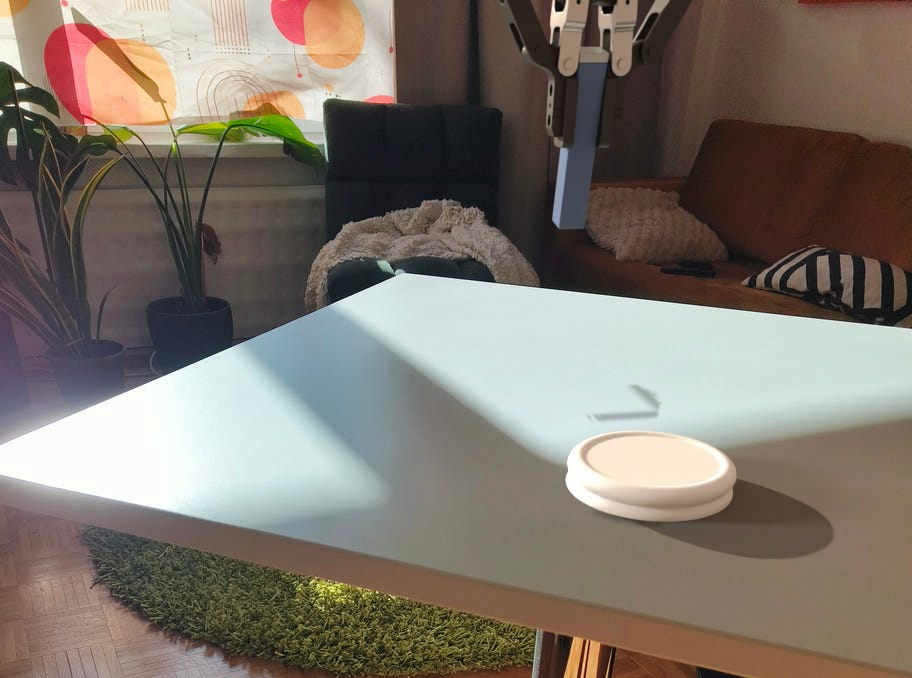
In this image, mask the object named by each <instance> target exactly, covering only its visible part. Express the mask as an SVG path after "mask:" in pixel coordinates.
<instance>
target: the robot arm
mask: <svg viewBox="0 0 912 678" xmlns="http://www.w3.org/2000/svg"><path fill="white" fill-rule="evenodd" d="M496 2H497V4H498V7H499V9H500V12H501V13H502V16H503V18H504V21H505V23H506V25H507V28H508V30H509V32H510V35H511V37H512V40H513V42H514V44H515V46H516V49H517V51H518V54H519V56H520V58H521V60H522V61H523V62H525V63H528V64H531V65H533V66H535V67H538V68H540V69H541V70H543V71H544V72H545V73H546V75H547V79H548V81H547V83H548V84H547V99H546V117H545V130H546V133H547V136H548V137H552V138H553V144H554V147H556V148H560V149H561V148H572V147H573V145H574V138H575V126H576V113H577V101H578V88H579V78H574V77H575V71H576V70H577V67H578V61H579V53H580V47H581V45H582V37H583V31H584V29H585V28H586V25H587V20H588V19H587V18H588V10H589V5H595V6H597V7H598V16H597V17H598V19H597V24H598V29H599V32H600V34H599V35H600V36H599V47H601V48H602V49H604V50H605V51H607V52H608V53H609V58H608V62H607V70H606V77H605V82H604V89H603V96H602V104H601V111H600V118H599V125H598V132H597V139H596V146H595V147H596V148H597V149H599V148H602V149H603V148H610V146H611V142H612V137H613V138H614V137H615V138H616V137H618V135H619V133H620V131H621V128H622V124H623V123H622V121H623V112H624V104H625V103H624V102H625V92H626V84H627V79H628V77H629V75H630V74H631V72H633V71H634V70H635V69H638V68H640V67H643V66H645V65H647V64H648V65H649V64H650V65H651V64H654V63H656V62H657V61H658V60H659V59H660V57H661V55H662V54H663V52H664V50H665V49H666V47H667V45H668V43H669V42H670V40H671V38H672V36H673V35H674V33H675V31H676V30H677V28H678V27H679V25H680V22H681V21H682V19H683V18H684V16H685V14H686V13H687V10H689V7H690V6H691V4H692V2H693V0H654V2H653V4H652V6H651V7H650V9H649V11H648V13H647V15H646V17H645V18H644V20H643V22H642V24H641V25H640V27H639V29H638V31H637V32H636V34H635V35H634V30H635V27H636V25H637V20H638V4H639V3H638V2H639V0H552V1H551V11H550V18H549V19H550V20H549V25H550V26H549V27H550V40H549V42H548V39H547V38H546V35H545V32H544V29H543V27H542V24H541V23H540V20H539V17H538V15H537V12H536V10H535V8H534V4H533V2H532V0H496Z"/></svg>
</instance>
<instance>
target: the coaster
mask: <svg viewBox="0 0 912 678" xmlns="http://www.w3.org/2000/svg"><path fill="white" fill-rule="evenodd" d="M567 470H568V471H567V473H566V477H565V484H566V487H567V489H568V491H569V492H570V493H571V494H572V495H573V496H574V498H575V499H577V500H579V501H580V502H581V503H583V504H586V505H587V506H589V507H591V508H594V509H595V510H597V511H600V512H603V513H606V514H610V515H613V516H617V517H621V518H625V519H629V520H635V521H636V520H637V521H644V522H655V523H656V522H658V523H660V522H661V523H675V522H688V521H694V520H700V519H703V518H707V517H711V516H713V515H715V514H717V513H720V512H721V511H723V510H724V509H726V508H727V507H728V506H729V505H730V503H731V502H732V500H733V498H734V497H733V496H734V491H733V489H734V488H733V487H734V486H735V484H736V482H737V477H738V476H737V469H736V466H735V464H734V462H733V461H732V459H730V458H729V456H728V455H726V453H724V452H723V451H721V450H720V449H718V448H717V447H715V446H713V445H711V444H709V443H706V442H705V441H702V440H699V439H695V438H692V437H689V436H684V435H680V434H676V433H670V432H662V431H653V430H652V431H651V430H620V431H611V432H607V433H601V434H598V435H595V436H591V437H589V438H587V439H584V440H583V441H581V442H580V443H578V444H577V445H575V446H574V447H573V449H572V450H571V451H570V454H569V455H568V458H567Z"/></svg>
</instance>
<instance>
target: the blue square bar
mask: <svg viewBox="0 0 912 678" xmlns="http://www.w3.org/2000/svg"><path fill="white" fill-rule="evenodd" d="M608 58H609V53H608V52H607V51H605V50H604V49H602V48H601V47H600V46H580V53H579V61H578V67H577V70H576V71H575V77H574V78H579V88H578V101H577V113H576V126H575V138H574V145H573V147H572V148H560V150H559V159H558V167H557V176H556V182H555V183H556V184H555V193H554V201H553V209H552V219H551V221H552V223H554V225H555V226H556V227H557V229H558V230H578V229H579V230H580V229H581V230H582V229H585V225H586V224H585V223H586V217H587V211H588V203H589V197H590V189H591V183H592V178H593V177H592V176H593V169H594V162H595V155H596V148H597V147H595V146H596V139H597V132H598V125H599V118H600V111H601V104H602V96H603V89H604V82H605V77H606V70H607V62H608Z"/></svg>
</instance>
